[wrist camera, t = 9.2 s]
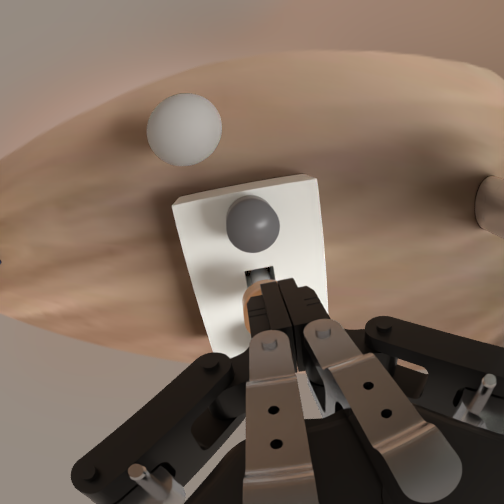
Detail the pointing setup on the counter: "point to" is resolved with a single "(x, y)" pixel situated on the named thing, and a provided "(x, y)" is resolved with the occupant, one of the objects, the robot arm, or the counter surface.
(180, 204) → the mounting board
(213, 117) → the lightbulb
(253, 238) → the charcoal knob
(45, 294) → the counter surface
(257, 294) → the middle terracotta knob
